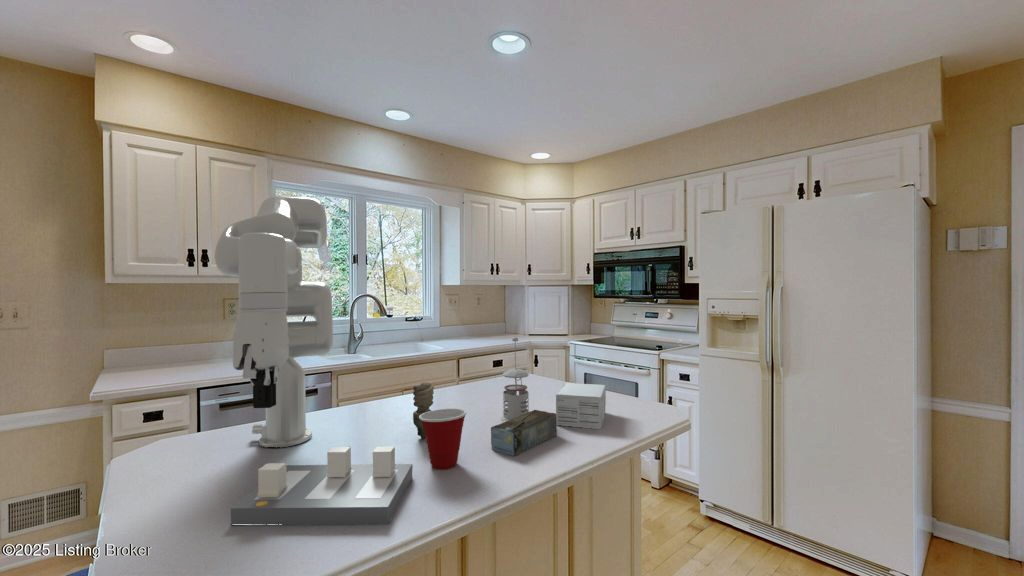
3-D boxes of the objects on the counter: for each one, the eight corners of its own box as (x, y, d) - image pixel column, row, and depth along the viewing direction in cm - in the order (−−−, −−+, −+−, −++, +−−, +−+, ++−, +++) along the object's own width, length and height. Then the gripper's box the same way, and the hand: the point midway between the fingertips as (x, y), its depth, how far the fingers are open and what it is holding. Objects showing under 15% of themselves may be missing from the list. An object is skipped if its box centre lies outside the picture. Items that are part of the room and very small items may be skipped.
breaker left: (257, 497, 78) (256, 470, 78) (268, 488, 81) (268, 462, 81) (277, 497, 78) (276, 470, 78) (287, 488, 81) (287, 462, 81)
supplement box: (601, 430, 122) (601, 397, 122) (555, 426, 126) (555, 394, 126) (606, 413, 138) (605, 384, 138) (565, 410, 142) (565, 381, 142)
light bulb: (436, 435, 119) (436, 380, 119) (431, 442, 113) (430, 385, 113) (416, 434, 119) (416, 380, 119) (410, 442, 114) (409, 385, 114)
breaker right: (372, 476, 86) (372, 452, 86) (377, 469, 89) (377, 445, 89) (390, 476, 86) (390, 452, 86) (395, 469, 89) (395, 445, 89)
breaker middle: (326, 477, 86) (326, 452, 86) (334, 469, 89) (334, 446, 89) (344, 477, 86) (344, 452, 86) (351, 469, 89) (351, 446, 89)
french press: (497, 422, 129) (496, 339, 129) (504, 411, 141) (503, 334, 141) (529, 424, 128) (529, 339, 128) (534, 412, 139) (533, 334, 139)
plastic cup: (448, 451, 107) (448, 403, 107) (476, 464, 99) (476, 411, 99) (410, 464, 99) (409, 412, 99) (437, 479, 92) (436, 422, 92)
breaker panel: (230, 525, 74) (230, 507, 74) (285, 479, 92) (285, 464, 92) (387, 524, 74) (387, 506, 74) (412, 478, 92) (412, 463, 92)
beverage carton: (489, 450, 108) (488, 423, 108) (534, 430, 123) (534, 407, 123) (513, 458, 103) (513, 430, 103) (558, 436, 118) (558, 412, 118)
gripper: (266, 302, 84) (267, 397, 84) (213, 304, 70) (215, 419, 69) (304, 302, 85) (305, 396, 84) (260, 304, 70) (262, 418, 69)
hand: (264, 406), depth 77 cm, fingers closed
